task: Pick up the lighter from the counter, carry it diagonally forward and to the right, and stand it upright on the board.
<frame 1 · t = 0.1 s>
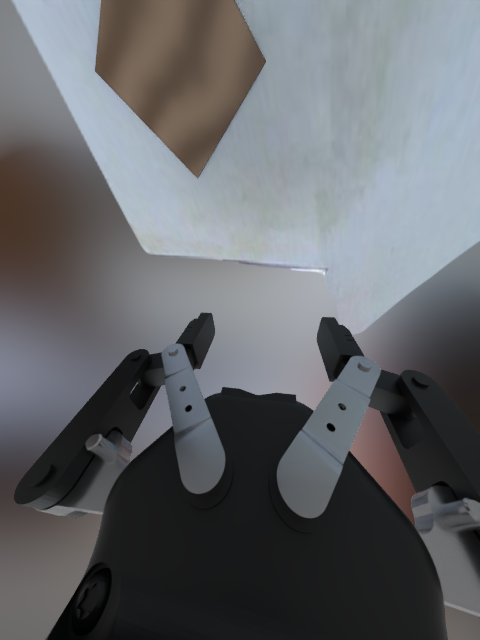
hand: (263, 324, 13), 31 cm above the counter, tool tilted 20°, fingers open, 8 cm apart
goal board: (178, 66, 22), on the counter
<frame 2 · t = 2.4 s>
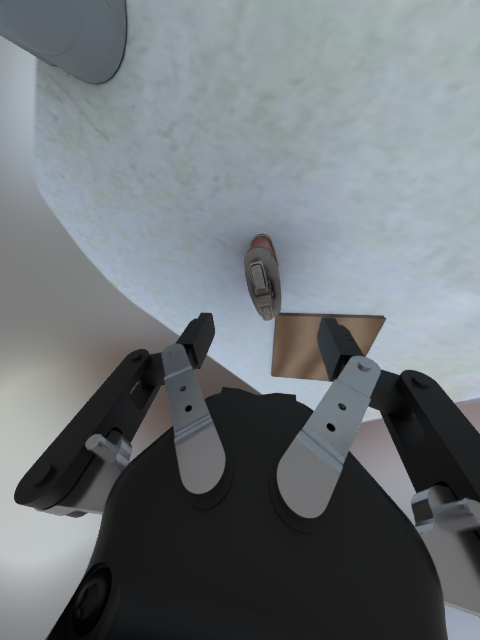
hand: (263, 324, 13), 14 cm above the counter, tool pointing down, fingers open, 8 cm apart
lighter: (265, 264, 24), on the counter
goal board: (317, 349, 31), on the counter
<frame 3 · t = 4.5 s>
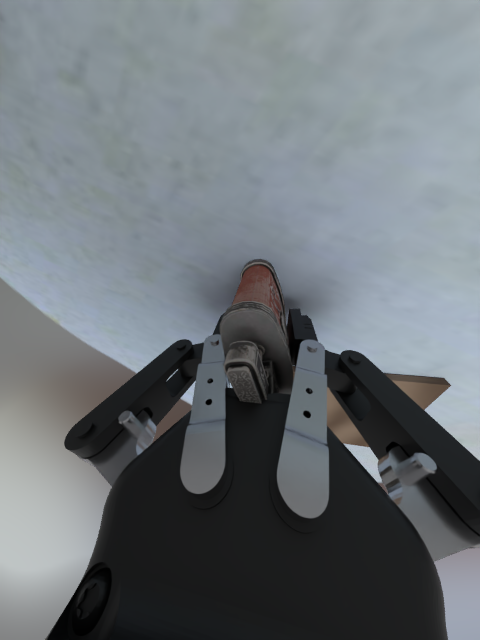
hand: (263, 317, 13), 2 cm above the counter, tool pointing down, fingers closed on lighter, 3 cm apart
lighter: (264, 302, 15), on the counter, touching gripper
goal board: (336, 409, 23), on the counter
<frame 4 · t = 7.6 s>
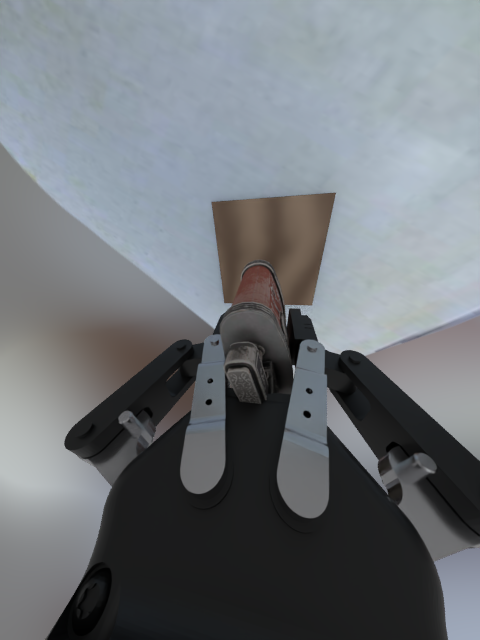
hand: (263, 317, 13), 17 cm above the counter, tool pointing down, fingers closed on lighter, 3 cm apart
lighter: (265, 303, 15), point 15 cm above the counter, touching gripper
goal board: (268, 258, 27), on the counter
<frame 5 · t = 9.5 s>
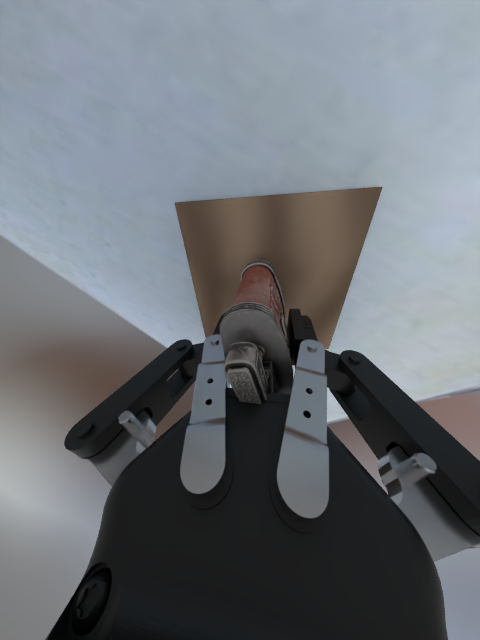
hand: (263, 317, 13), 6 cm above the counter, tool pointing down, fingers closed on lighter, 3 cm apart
lighter: (265, 303, 15), point 4 cm above the counter, touching gripper
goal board: (265, 286, 18), on the counter
when the fingers open (4 cm above the counter, at t = 10.7 s): lighter drops 1 cm, resting on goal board.
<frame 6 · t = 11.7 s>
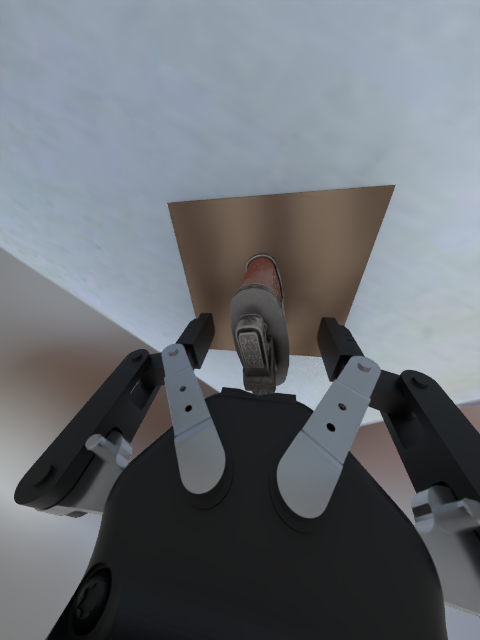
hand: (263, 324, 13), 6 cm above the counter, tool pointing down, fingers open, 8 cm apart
lighter: (265, 293, 17), point 1 cm above the counter, touching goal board
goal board: (266, 291, 17), on the counter
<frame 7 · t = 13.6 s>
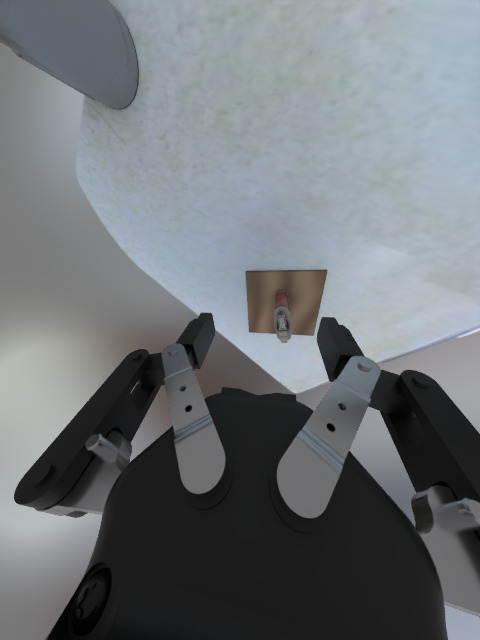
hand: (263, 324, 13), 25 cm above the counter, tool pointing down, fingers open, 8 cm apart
lighter: (282, 305, 39), point 1 cm above the counter, touching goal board
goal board: (282, 304, 39), on the counter
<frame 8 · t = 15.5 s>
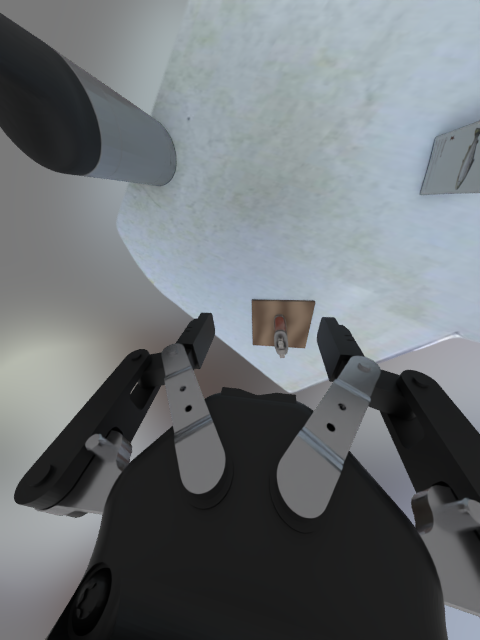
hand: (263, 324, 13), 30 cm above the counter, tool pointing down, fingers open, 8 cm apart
supplement box: (453, 161, 26), on the counter
lighter: (280, 325, 48), point 1 cm above the counter, touching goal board
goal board: (280, 324, 49), on the counter
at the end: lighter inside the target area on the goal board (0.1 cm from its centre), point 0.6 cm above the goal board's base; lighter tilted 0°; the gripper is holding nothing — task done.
